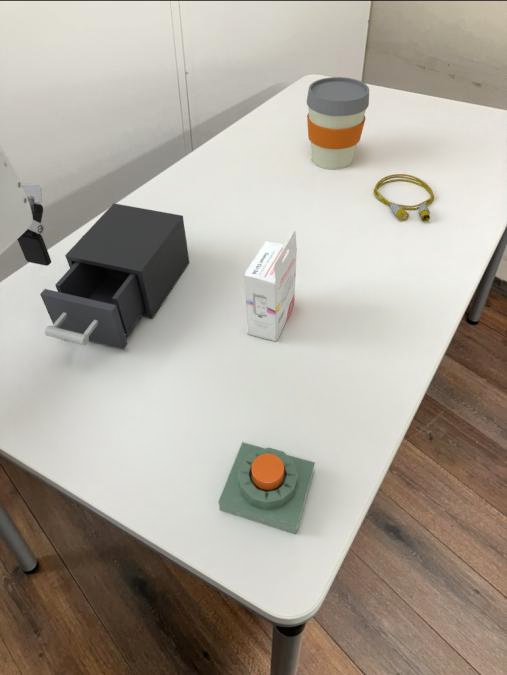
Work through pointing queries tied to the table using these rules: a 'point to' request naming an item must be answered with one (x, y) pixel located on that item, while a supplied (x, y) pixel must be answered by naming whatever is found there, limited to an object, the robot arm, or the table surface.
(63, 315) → the drawer
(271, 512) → the control box
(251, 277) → the ink cartridge box
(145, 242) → the black hollow box
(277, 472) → the button
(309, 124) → the reusable coffee cup
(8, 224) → the robot arm
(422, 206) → the extension cord
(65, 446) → the table surface
